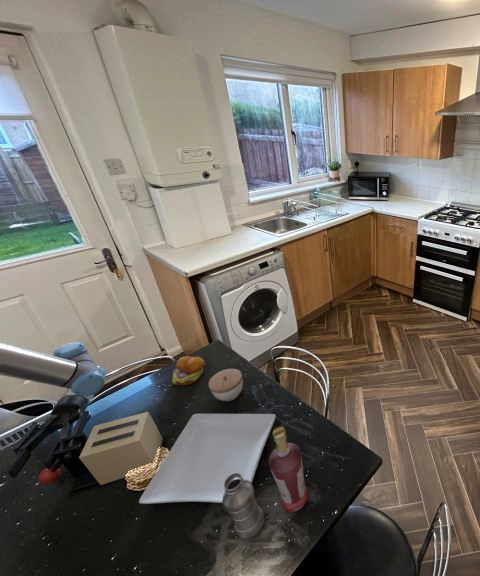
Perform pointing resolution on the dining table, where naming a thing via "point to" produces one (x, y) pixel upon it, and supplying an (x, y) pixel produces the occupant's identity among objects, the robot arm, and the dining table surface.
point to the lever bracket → (76, 463)
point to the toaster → (121, 447)
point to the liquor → (288, 472)
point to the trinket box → (226, 384)
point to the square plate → (209, 457)
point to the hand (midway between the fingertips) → (29, 469)
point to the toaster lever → (55, 467)
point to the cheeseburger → (188, 370)
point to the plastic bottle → (242, 506)
